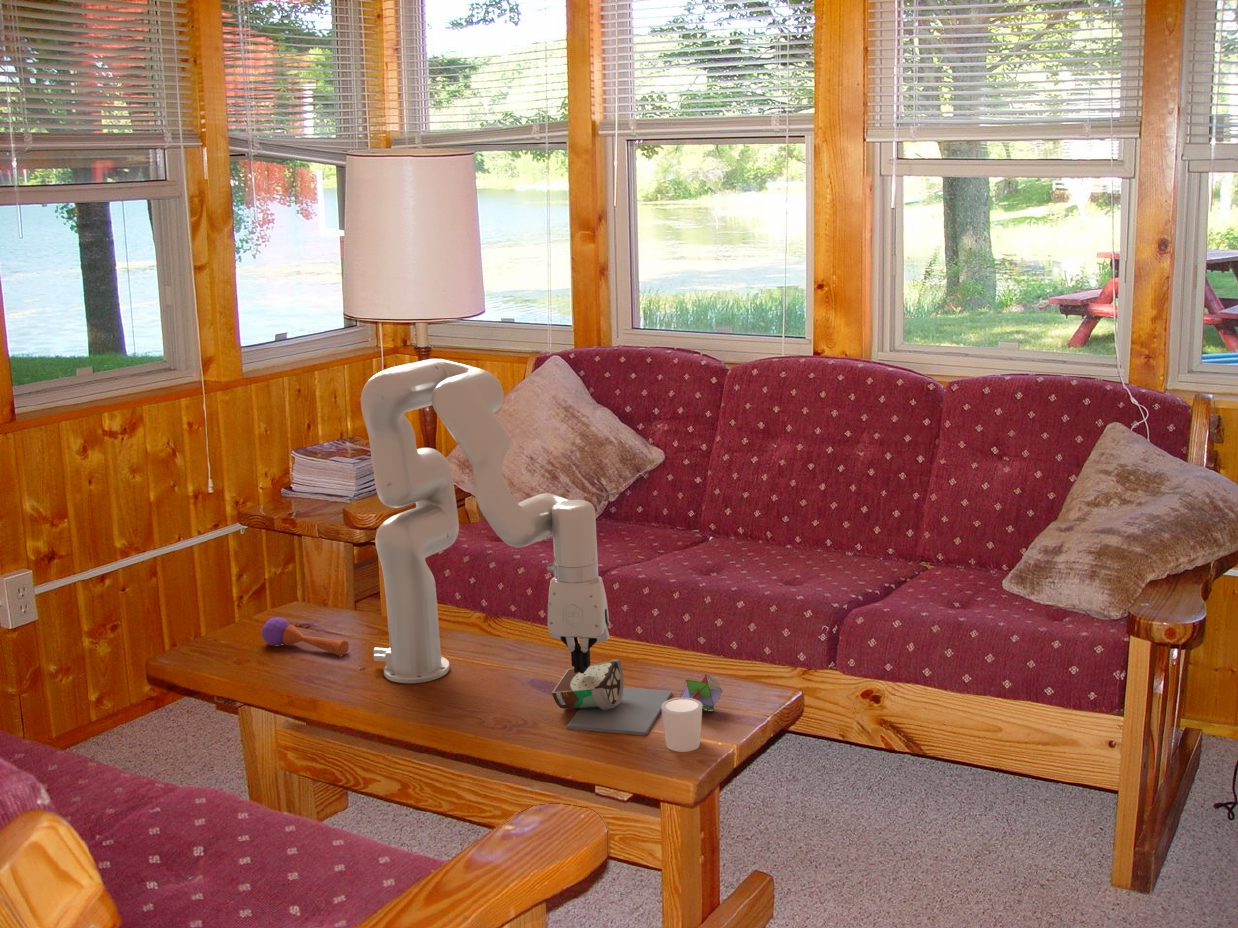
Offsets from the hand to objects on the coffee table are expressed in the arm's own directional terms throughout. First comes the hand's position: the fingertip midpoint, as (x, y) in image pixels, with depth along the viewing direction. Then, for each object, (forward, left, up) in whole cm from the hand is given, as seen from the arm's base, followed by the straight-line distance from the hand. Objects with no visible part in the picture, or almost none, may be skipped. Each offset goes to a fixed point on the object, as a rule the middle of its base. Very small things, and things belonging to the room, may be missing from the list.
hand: (581, 670), depth 235 cm
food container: (-4, 0, -5) cm, 6 cm away
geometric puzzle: (+21, +2, -7) cm, 22 cm away
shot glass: (+21, -11, -7) cm, 25 cm away
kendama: (-65, +17, -8) cm, 68 cm away
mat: (+7, 0, -7) cm, 10 cm away
